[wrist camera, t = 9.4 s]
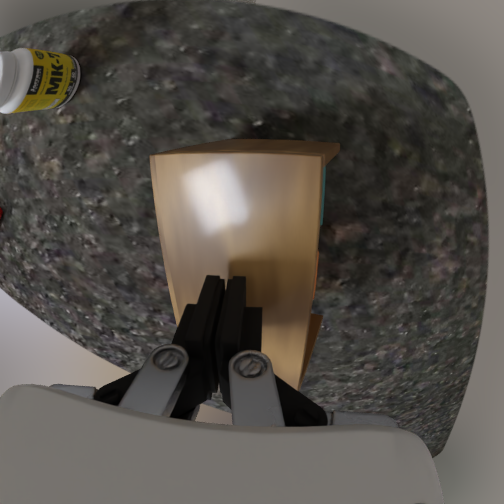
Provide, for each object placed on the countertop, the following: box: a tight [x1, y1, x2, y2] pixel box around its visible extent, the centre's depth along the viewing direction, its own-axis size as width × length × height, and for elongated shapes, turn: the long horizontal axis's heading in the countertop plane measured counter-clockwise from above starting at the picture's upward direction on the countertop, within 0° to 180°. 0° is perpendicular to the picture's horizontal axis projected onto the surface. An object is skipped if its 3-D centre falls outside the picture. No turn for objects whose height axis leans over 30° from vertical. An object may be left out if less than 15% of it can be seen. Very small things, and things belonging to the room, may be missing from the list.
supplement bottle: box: [0, 48, 80, 113], centre depth 11 cm, size 5×5×8 cm
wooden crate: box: [150, 139, 340, 392], centre depth 16 cm, size 13×8×7 cm
